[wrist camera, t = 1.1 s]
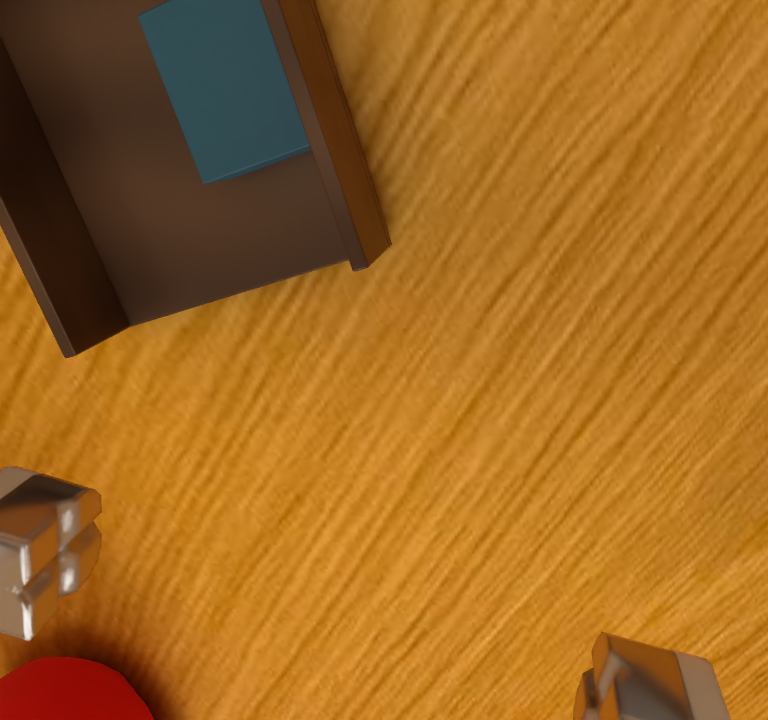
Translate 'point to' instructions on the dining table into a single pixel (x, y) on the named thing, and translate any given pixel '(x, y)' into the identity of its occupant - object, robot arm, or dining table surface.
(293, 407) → the dining table surface
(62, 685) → the tomato
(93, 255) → the dark brown open tray
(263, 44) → the teal packet
